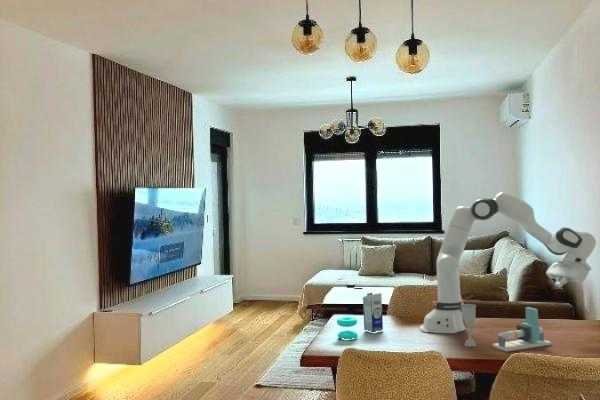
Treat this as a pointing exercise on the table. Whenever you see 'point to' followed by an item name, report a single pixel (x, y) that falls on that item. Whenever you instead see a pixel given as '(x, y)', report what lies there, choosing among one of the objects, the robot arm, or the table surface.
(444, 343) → the table surface
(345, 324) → the donuts
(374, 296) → the milk carton
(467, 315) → the chalice
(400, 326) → the table surface
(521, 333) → the pipe stand
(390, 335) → the table surface
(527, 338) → the dark gray block
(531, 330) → the teal notched saddle block
